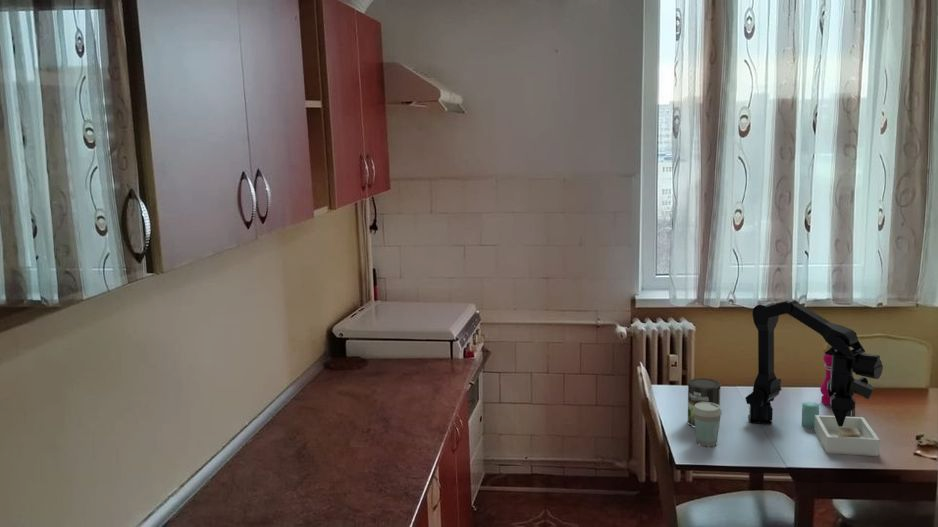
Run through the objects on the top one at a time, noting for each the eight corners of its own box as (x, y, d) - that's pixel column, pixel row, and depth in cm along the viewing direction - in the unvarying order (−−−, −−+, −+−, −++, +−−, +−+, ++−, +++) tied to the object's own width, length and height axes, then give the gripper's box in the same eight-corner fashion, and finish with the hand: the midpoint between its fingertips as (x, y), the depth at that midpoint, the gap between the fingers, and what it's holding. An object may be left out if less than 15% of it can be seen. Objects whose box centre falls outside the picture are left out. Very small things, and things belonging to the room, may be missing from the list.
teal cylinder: (803, 427, 236) (803, 406, 235) (800, 421, 241) (800, 401, 240) (820, 428, 235) (820, 407, 234) (816, 422, 240) (817, 402, 239)
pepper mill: (843, 400, 258) (846, 345, 255) (841, 407, 252) (844, 350, 249) (821, 397, 262) (823, 343, 259) (818, 404, 256) (820, 348, 253)
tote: (826, 453, 217) (827, 437, 216) (814, 429, 234) (814, 414, 233) (879, 456, 213) (879, 440, 212) (862, 432, 230) (863, 417, 230)
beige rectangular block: (841, 449, 217) (842, 433, 217) (837, 443, 222) (838, 427, 221) (859, 450, 216) (860, 434, 215) (855, 444, 221) (856, 428, 220)
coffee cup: (717, 451, 221) (718, 412, 219) (688, 445, 226) (689, 408, 224) (724, 440, 228) (724, 403, 226) (696, 436, 233) (696, 399, 231)
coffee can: (711, 432, 235) (712, 390, 233) (681, 425, 242) (682, 384, 240) (725, 422, 243) (726, 381, 240) (696, 416, 250) (696, 376, 247)
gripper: (876, 383, 208) (872, 435, 211) (868, 364, 225) (865, 412, 228) (832, 379, 213) (829, 430, 215) (828, 361, 230) (825, 408, 232)
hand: (839, 420), depth 223 cm, fingers open, 9 cm apart
